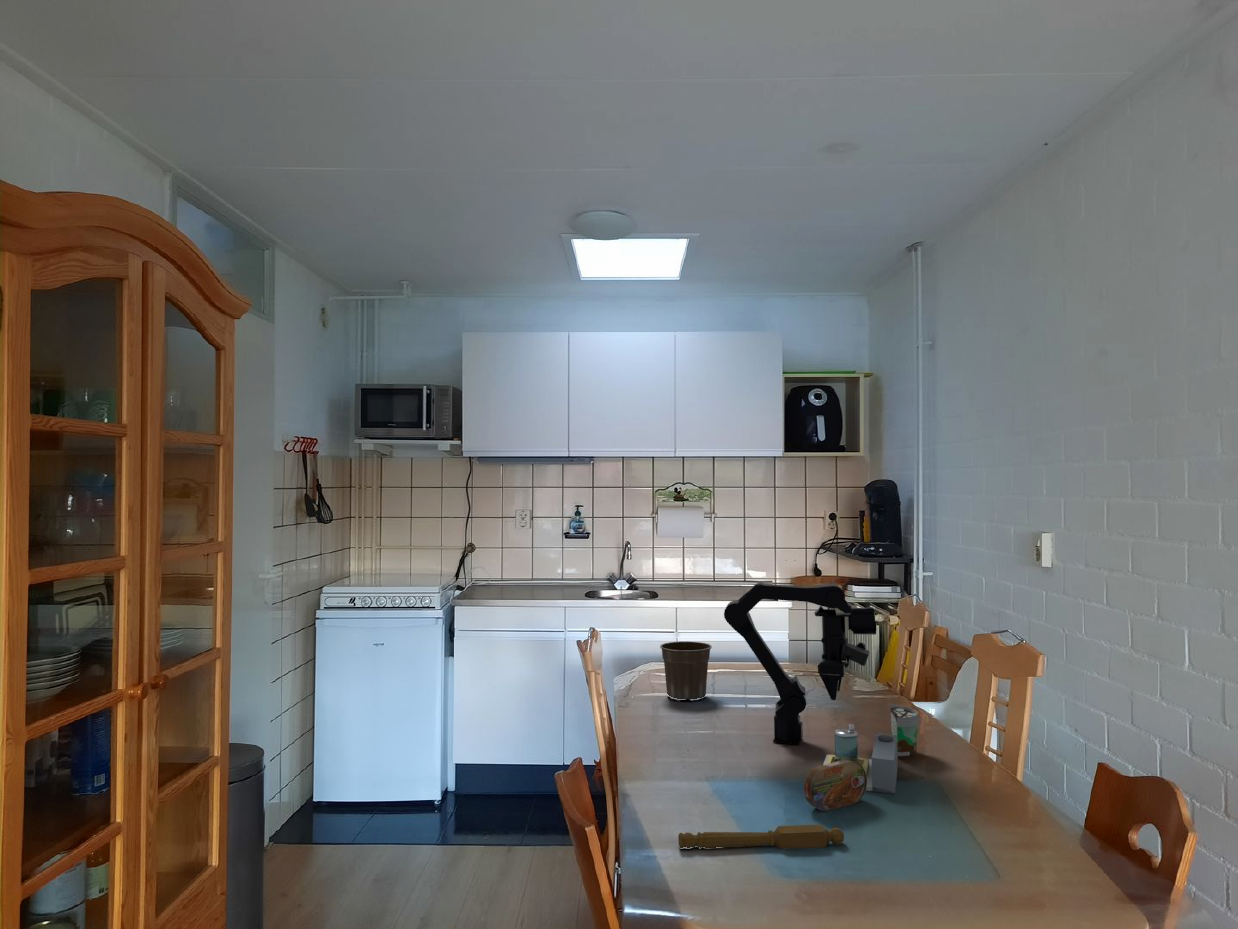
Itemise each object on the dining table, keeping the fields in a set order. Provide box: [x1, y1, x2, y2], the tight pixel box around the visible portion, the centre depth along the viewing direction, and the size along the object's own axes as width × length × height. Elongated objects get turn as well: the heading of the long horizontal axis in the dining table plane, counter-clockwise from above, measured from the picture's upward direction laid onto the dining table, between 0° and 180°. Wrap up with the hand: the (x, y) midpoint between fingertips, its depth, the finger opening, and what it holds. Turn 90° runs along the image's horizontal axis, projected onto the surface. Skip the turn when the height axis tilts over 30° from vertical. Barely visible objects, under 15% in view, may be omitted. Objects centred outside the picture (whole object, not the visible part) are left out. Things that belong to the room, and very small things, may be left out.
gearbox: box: [822, 732, 899, 795], centre depth 173 cm, size 16×18×8 cm
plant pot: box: [659, 640, 712, 699], centre depth 243 cm, size 16×16×16 cm
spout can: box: [833, 723, 859, 763], centre depth 175 cm, size 5×5×10 cm
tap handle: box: [677, 824, 845, 850], centre depth 139 cm, size 3×3×30 cm
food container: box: [889, 704, 921, 760], centre depth 187 cm, size 12×6×10 cm, turn 168°
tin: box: [803, 760, 867, 813], centre depth 157 cm, size 15×3×8 cm, turn 117°
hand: (835, 695), depth 196 cm, fingers open, 9 cm apart
